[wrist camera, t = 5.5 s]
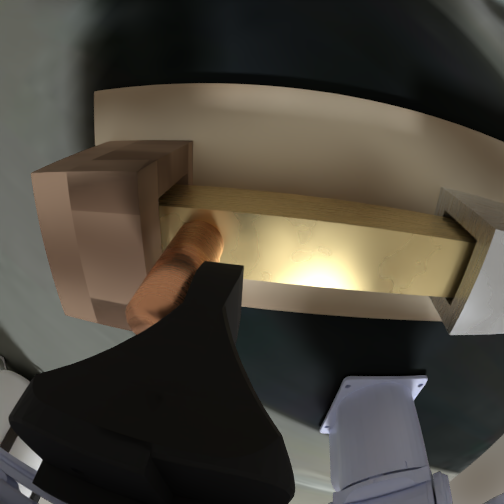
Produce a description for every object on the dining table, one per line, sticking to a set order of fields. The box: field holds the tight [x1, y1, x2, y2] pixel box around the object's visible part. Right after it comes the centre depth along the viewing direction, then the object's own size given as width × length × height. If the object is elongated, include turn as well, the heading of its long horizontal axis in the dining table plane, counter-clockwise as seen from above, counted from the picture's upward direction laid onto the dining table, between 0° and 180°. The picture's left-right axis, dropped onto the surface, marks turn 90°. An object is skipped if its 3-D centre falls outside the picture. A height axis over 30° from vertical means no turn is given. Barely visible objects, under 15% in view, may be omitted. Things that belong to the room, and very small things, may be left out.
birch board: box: [94, 83, 504, 321], centre depth 16 cm, size 13×33×1 cm, turn 86°
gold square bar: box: [125, 184, 477, 335], centre depth 11 cm, size 3×19×8 cm, turn 86°
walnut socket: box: [31, 140, 193, 331], centre depth 14 cm, size 7×5×6 cm
